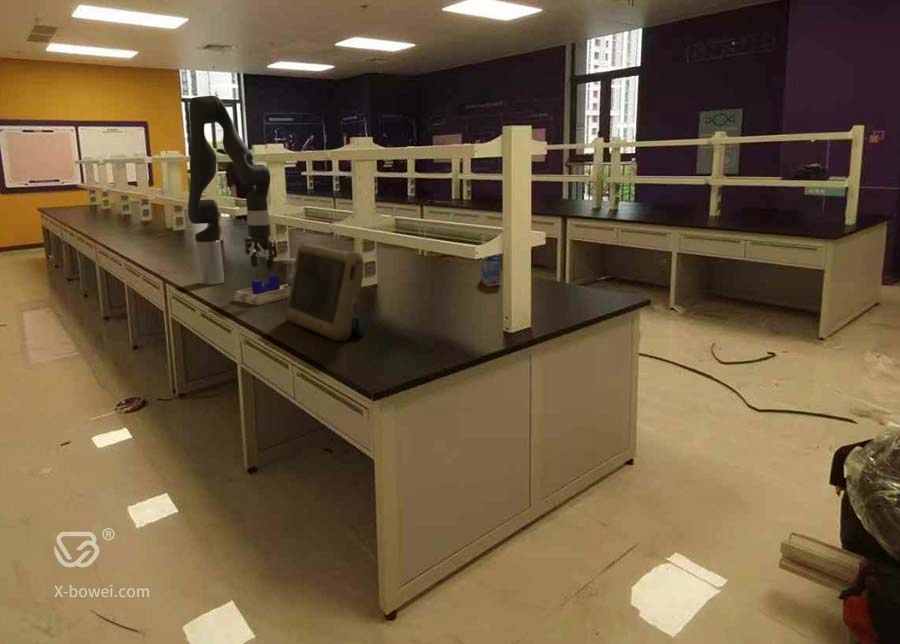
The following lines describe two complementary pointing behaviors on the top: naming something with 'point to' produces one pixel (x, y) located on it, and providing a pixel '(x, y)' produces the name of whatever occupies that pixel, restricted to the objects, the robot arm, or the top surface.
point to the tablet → (326, 291)
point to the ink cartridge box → (490, 270)
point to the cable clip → (266, 285)
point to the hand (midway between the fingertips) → (262, 268)
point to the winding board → (271, 296)
